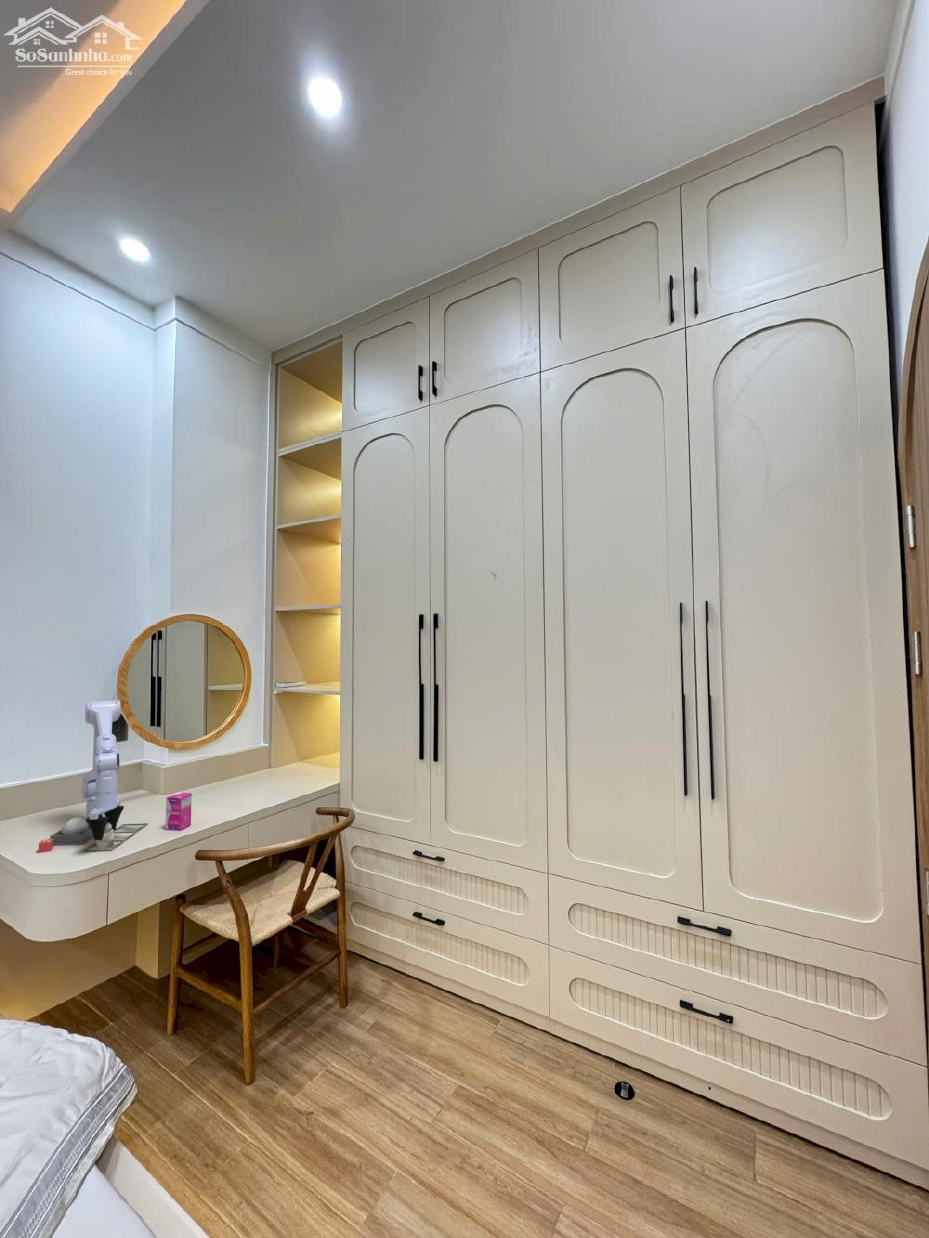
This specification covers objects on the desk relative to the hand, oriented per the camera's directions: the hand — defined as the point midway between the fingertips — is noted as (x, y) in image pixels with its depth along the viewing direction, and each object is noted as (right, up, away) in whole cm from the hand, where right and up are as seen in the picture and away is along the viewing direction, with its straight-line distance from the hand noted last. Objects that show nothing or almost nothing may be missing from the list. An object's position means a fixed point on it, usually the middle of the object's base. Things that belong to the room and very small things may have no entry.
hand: (105, 835), depth 165 cm
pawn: (0, -3, 0) cm, 3 cm away
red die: (-16, -3, -3) cm, 16 cm away
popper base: (-14, -4, +6) cm, 15 cm away
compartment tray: (-1, -4, +7) cm, 8 cm away
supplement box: (+14, -5, +16) cm, 22 cm away
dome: (-14, -3, +6) cm, 15 cm away
